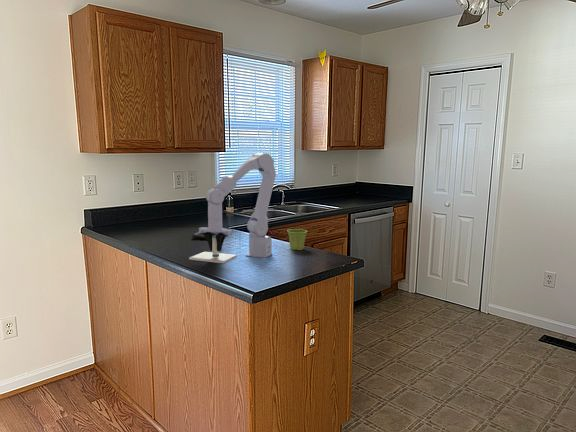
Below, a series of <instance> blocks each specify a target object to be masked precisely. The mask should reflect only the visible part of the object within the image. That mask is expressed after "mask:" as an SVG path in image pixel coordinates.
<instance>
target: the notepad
mask: <svg viewBox="0 0 576 432" xmlns="http://www.w3.org/2000/svg"><path fill="white" fill-rule="evenodd" d="M236 257H238V255H237V254H233V253H231V254H230V253H222V252H219V257H212V251H203V252H199V253H198V254H194V255H192V256H189V257H188V260H189V261H198V262H207V263H209V262H210V263H216V264H225V263H227V262H229V261H231V260H234V259H235V258H236Z"/></svg>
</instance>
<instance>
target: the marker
mask: <svg viewBox="0 0 576 432" xmlns="http://www.w3.org/2000/svg"><path fill="white" fill-rule="evenodd" d="M211 252H212V257H219V253H220V251H219V252H218V251H217V241H216V237H215V235H213V236H212V251H211Z"/></svg>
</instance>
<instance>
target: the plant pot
mask: <svg viewBox="0 0 576 432" xmlns="http://www.w3.org/2000/svg"><path fill="white" fill-rule="evenodd" d="M286 232H287V235H288V239H289V247H290V248H289V249H290V250H293V251H296V250H297V251H301V250H304V248H305V247H304V246H305V241H306V235H307V233H308V230H306V229H303V228H302V229H301V228H293V229H292V228H290V229H287V231H286Z"/></svg>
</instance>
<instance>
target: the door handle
mask: <svg viewBox="0 0 576 432" xmlns="http://www.w3.org/2000/svg"><path fill="white" fill-rule="evenodd" d="M205 234H206V233H203V232H202V233H199V231H198V232H195V233H193V234H192V235H191V238H192V239H193V240H198V241H199V240H201V241H207V240H206V238H205V236H204V235H205ZM215 235H218V234H215ZM226 237H229V235H226Z"/></svg>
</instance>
